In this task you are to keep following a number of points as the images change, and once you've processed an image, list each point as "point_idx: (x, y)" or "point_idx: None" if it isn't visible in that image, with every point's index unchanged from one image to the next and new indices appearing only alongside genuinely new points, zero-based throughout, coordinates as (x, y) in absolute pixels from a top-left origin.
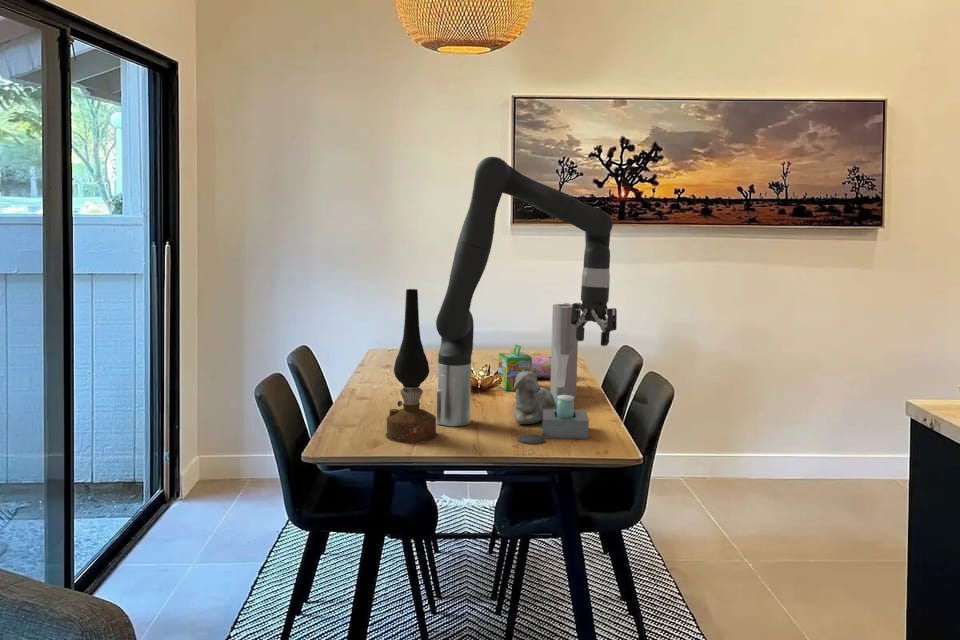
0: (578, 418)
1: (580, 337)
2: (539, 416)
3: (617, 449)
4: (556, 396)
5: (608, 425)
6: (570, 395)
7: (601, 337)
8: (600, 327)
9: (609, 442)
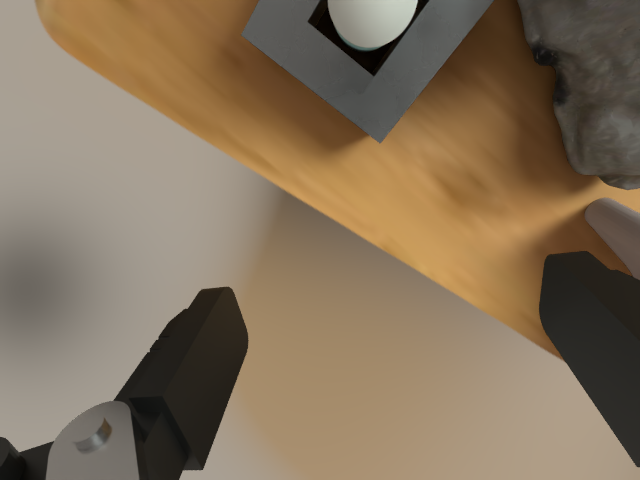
0: (289, 20)
1: (565, 298)
2: (527, 1)
3: (126, 48)
4: (638, 215)
5: (356, 209)
6: (382, 44)
7: (187, 339)
8: (135, 465)
9: (201, 81)
